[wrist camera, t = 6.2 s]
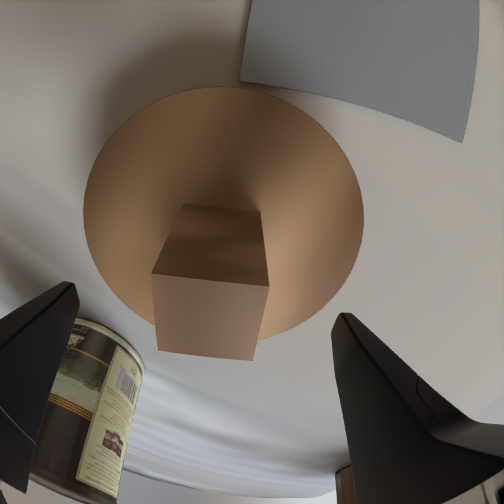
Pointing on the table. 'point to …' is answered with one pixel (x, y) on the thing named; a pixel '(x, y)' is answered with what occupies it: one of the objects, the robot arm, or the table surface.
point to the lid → (222, 218)
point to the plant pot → (345, 486)
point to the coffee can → (88, 416)
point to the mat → (371, 55)
